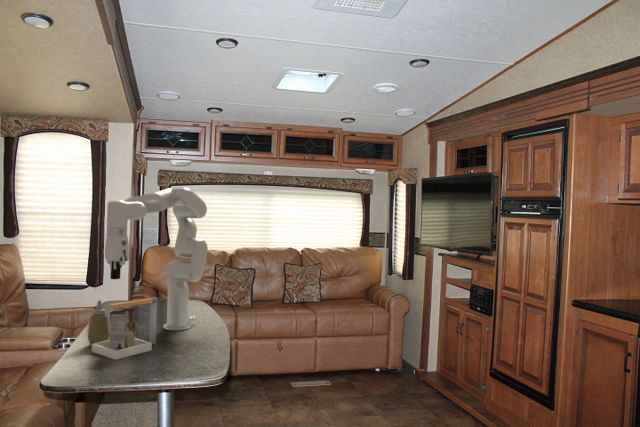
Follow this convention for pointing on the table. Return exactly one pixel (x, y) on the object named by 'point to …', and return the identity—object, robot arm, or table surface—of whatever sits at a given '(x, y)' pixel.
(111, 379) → the table surface
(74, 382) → the table surface
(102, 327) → the squeeze bottle
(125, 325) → the coffee box
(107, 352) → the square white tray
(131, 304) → the bar
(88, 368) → the table surface
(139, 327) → the table surface
